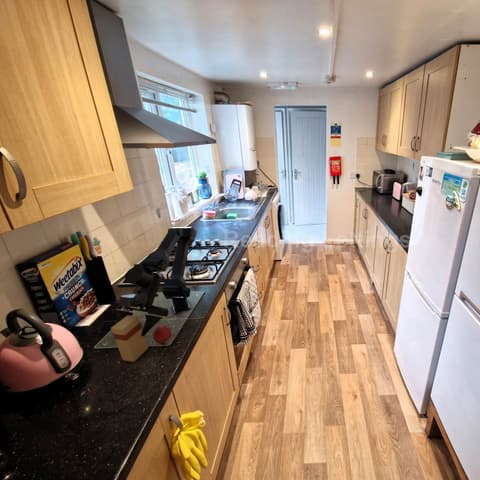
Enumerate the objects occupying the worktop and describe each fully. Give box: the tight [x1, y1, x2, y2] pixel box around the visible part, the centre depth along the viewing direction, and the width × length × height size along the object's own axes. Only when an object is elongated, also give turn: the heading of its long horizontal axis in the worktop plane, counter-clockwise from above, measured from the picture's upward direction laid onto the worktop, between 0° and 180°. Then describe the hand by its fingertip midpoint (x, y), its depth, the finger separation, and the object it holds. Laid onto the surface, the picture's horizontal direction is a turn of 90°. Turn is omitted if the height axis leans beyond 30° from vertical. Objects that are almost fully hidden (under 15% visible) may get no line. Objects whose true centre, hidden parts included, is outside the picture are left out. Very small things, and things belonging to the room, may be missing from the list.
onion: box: [152, 323, 172, 344], centre depth 97 cm, size 6×6×8 cm
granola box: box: [110, 315, 149, 363], centre depth 91 cm, size 4×7×14 cm
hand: (131, 334), depth 90 cm, fingers open, 9 cm apart
